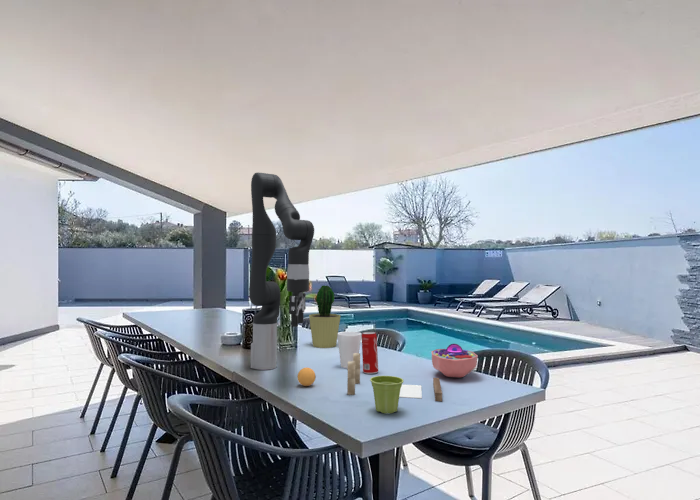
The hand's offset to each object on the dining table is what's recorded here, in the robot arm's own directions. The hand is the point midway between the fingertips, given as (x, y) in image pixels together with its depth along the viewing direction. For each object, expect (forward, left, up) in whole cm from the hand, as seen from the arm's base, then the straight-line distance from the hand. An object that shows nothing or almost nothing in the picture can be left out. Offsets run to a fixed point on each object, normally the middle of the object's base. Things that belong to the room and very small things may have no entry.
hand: (297, 324), depth 158 cm
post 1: (+20, -10, -20) cm, 30 cm away
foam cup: (+14, +26, -20) cm, 36 cm away
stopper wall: (+47, -4, -20) cm, 51 cm away
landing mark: (+35, -4, -20) cm, 41 cm away
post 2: (+20, +3, -20) cm, 28 cm away
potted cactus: (-4, +66, -20) cm, 69 cm away
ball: (+4, -4, -17) cm, 18 cm away
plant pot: (+32, -24, -20) cm, 45 cm away
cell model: (+54, +19, -20) cm, 61 cm away
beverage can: (+23, +18, -20) cm, 36 cm away
